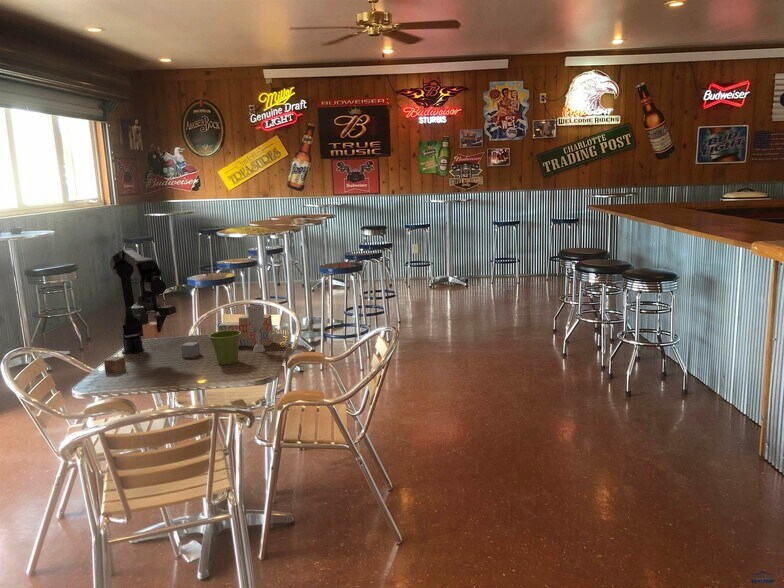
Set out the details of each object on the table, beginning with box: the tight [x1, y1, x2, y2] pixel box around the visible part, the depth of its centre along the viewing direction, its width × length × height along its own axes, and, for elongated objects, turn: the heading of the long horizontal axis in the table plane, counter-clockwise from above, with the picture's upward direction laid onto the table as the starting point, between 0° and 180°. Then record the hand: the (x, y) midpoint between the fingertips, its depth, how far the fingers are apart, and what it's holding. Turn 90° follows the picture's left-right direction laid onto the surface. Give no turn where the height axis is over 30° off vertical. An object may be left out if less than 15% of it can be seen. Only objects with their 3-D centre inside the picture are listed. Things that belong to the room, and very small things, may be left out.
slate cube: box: [180, 341, 201, 359], centre depth 241 cm, size 5×5×5 cm
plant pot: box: [208, 330, 241, 366], centre depth 229 cm, size 12×12×11 cm
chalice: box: [245, 304, 266, 353], centre depth 243 cm, size 7×7×18 cm
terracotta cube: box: [142, 321, 164, 339], centre depth 232 cm, size 5×5×5 cm
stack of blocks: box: [217, 314, 274, 347], centre depth 255 cm, size 21×6×12 cm, turn 85°
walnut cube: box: [103, 356, 127, 375], centre depth 224 cm, size 5×5×5 cm
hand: (153, 332), depth 232 cm, fingers closed on terracotta cube, 5 cm apart
